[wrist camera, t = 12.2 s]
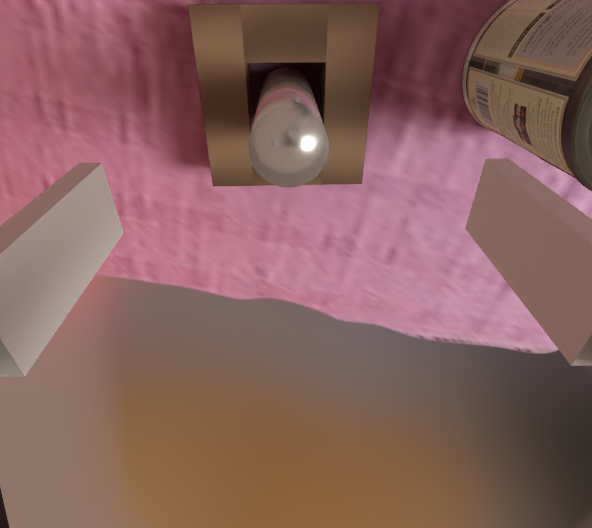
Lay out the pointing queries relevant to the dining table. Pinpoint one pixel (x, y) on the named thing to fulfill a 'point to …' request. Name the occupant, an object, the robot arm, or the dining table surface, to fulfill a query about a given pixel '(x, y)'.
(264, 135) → the long pin
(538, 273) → the robot arm
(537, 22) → the coffee can
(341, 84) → the hole block
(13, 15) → the dining table surface
